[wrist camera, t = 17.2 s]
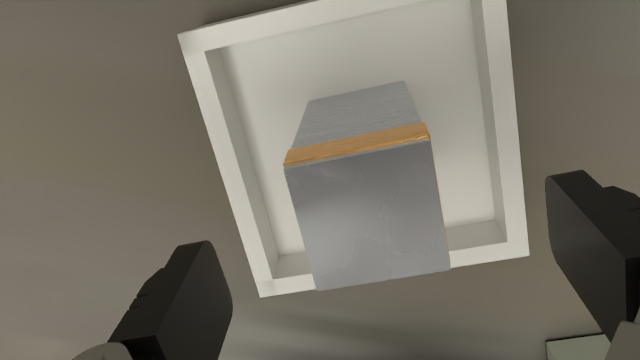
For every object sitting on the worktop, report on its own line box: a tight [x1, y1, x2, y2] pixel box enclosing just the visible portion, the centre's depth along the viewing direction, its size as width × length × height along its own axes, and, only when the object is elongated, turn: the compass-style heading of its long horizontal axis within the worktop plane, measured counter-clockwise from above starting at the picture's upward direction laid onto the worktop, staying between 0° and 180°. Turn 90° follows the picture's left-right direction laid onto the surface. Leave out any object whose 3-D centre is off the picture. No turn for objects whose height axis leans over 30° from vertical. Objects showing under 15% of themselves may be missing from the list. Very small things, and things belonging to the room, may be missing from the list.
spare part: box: [283, 81, 451, 291], centre depth 18 cm, size 4×4×8 cm
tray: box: [177, 0, 529, 298], centre depth 22 cm, size 12×12×3 cm
